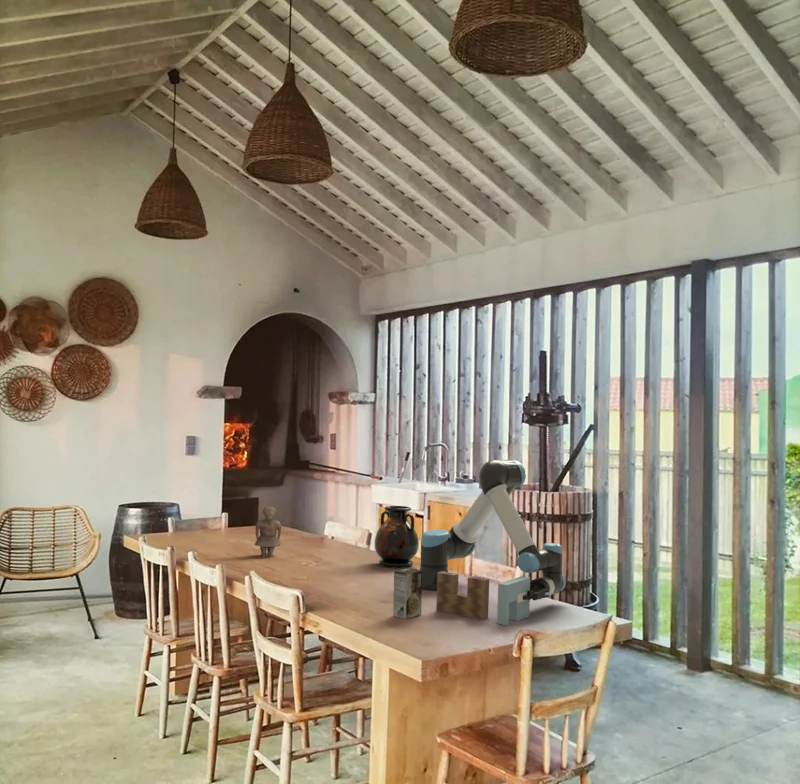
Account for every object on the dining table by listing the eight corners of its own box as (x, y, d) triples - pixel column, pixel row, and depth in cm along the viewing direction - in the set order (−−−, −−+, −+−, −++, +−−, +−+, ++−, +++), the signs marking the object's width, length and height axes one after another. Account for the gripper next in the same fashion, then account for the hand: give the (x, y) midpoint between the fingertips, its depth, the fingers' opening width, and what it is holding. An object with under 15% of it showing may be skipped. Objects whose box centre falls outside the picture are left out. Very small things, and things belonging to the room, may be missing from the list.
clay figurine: (255, 558, 389) (257, 507, 390) (252, 554, 399) (254, 504, 399) (281, 557, 393) (283, 507, 394) (278, 554, 403) (279, 504, 404)
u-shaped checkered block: (436, 610, 295) (437, 572, 295) (441, 608, 298) (442, 571, 298) (483, 619, 283) (484, 580, 283) (488, 618, 286) (489, 579, 286)
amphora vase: (426, 565, 386) (428, 507, 387) (401, 571, 368) (403, 510, 369) (390, 559, 398) (392, 503, 399) (364, 565, 380) (366, 506, 381)
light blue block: (497, 623, 278) (498, 583, 279) (520, 614, 293) (521, 576, 293) (506, 625, 276) (507, 585, 277) (529, 616, 291) (530, 577, 291)
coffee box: (407, 611, 292) (409, 567, 292) (421, 614, 288) (423, 570, 288) (392, 615, 285) (393, 570, 285) (406, 619, 281) (407, 573, 281)
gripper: (560, 601, 298) (533, 612, 279) (521, 594, 307) (491, 604, 288) (561, 581, 298) (533, 591, 279) (521, 574, 308) (492, 584, 289)
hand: (512, 597), depth 284 cm, fingers closed on light blue block, 3 cm apart
